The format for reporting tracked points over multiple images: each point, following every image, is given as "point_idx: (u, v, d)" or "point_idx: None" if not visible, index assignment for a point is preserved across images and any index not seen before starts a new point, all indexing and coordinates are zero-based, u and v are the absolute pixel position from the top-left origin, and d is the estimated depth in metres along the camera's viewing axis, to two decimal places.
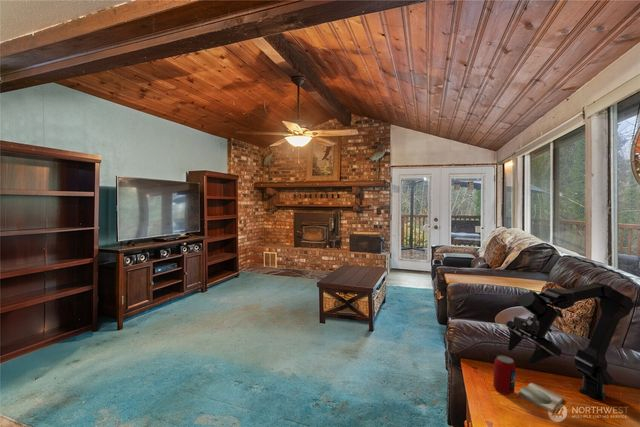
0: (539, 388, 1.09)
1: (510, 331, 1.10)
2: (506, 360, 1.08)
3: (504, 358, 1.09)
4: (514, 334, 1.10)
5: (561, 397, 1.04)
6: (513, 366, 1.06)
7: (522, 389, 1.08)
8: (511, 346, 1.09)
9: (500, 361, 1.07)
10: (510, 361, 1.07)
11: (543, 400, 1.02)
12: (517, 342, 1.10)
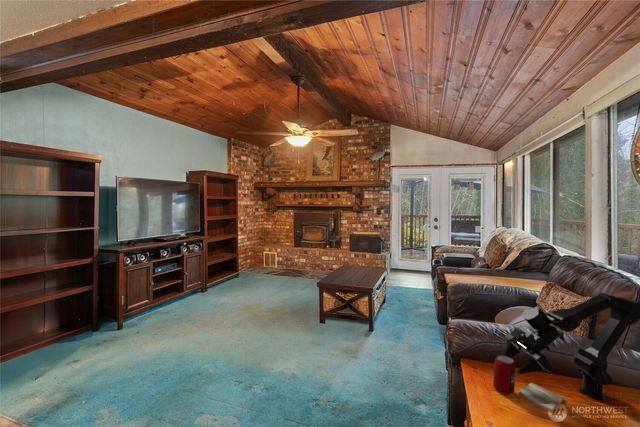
0: (539, 388, 1.09)
1: (508, 342, 1.14)
2: (506, 360, 1.08)
3: (504, 358, 1.09)
4: (511, 345, 1.13)
5: (561, 397, 1.04)
6: (513, 366, 1.06)
7: (522, 389, 1.08)
8: None
9: (500, 361, 1.07)
10: (510, 361, 1.07)
11: (543, 400, 1.02)
12: (512, 354, 1.13)
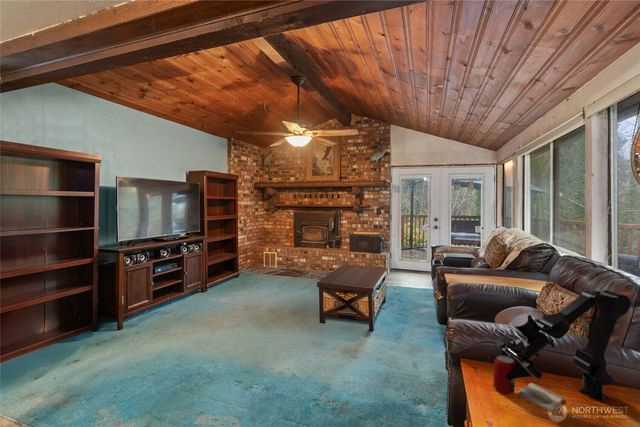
0: (539, 388, 1.09)
1: (500, 350, 1.13)
2: (506, 360, 1.08)
3: (504, 358, 1.09)
4: (504, 353, 1.13)
5: (561, 397, 1.04)
6: (513, 366, 1.06)
7: (522, 389, 1.08)
8: None
9: (500, 361, 1.07)
10: (510, 361, 1.07)
11: (543, 400, 1.02)
12: None
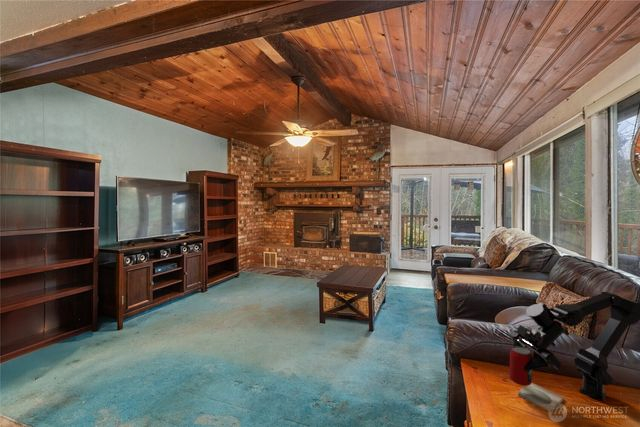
0: (539, 388, 1.09)
1: (515, 341, 1.11)
2: (522, 351, 1.06)
3: (520, 349, 1.07)
4: (518, 344, 1.10)
5: (561, 397, 1.04)
6: (530, 357, 1.04)
7: (522, 389, 1.08)
8: None
9: (517, 352, 1.05)
10: (527, 352, 1.05)
11: (543, 400, 1.02)
12: None
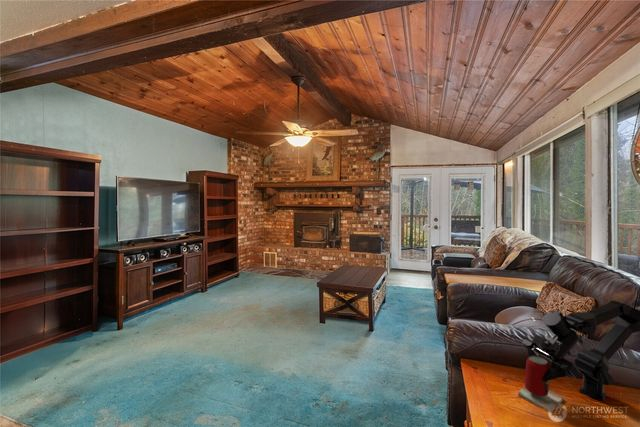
0: None
1: (529, 350, 1.10)
2: (539, 361, 1.04)
3: (536, 359, 1.05)
4: (533, 354, 1.09)
5: (561, 397, 1.04)
6: (548, 367, 1.02)
7: (522, 389, 1.08)
8: None
9: (534, 363, 1.03)
10: (544, 362, 1.03)
11: (543, 400, 1.02)
12: None
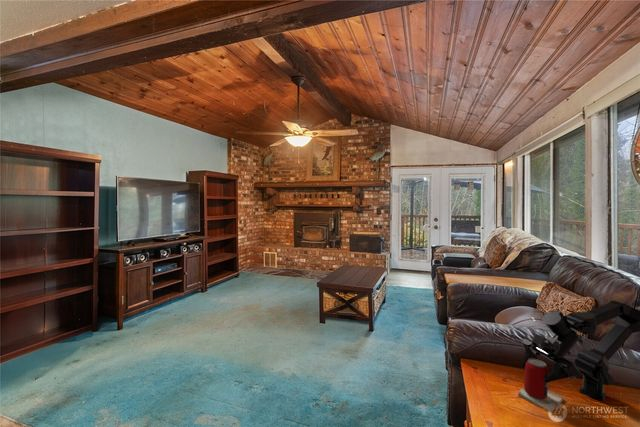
0: None
1: (526, 348, 1.11)
2: (538, 363, 1.04)
3: (535, 362, 1.05)
4: (530, 351, 1.10)
5: (561, 397, 1.04)
6: (547, 369, 1.02)
7: (522, 389, 1.08)
8: (525, 363, 1.09)
9: (533, 365, 1.03)
10: (543, 364, 1.04)
11: (543, 400, 1.02)
12: None
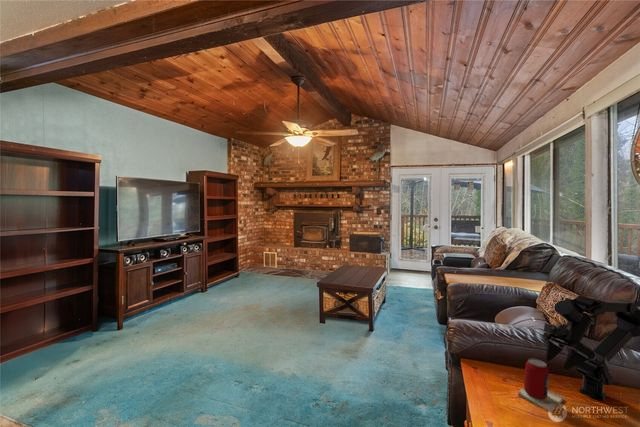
0: None
1: (546, 341, 1.11)
2: (539, 364, 1.04)
3: (535, 362, 1.05)
4: (551, 344, 1.10)
5: (561, 397, 1.04)
6: (547, 369, 1.02)
7: (522, 389, 1.08)
8: (549, 356, 1.09)
9: (534, 365, 1.03)
10: (543, 364, 1.04)
11: (543, 400, 1.02)
12: (555, 353, 1.09)
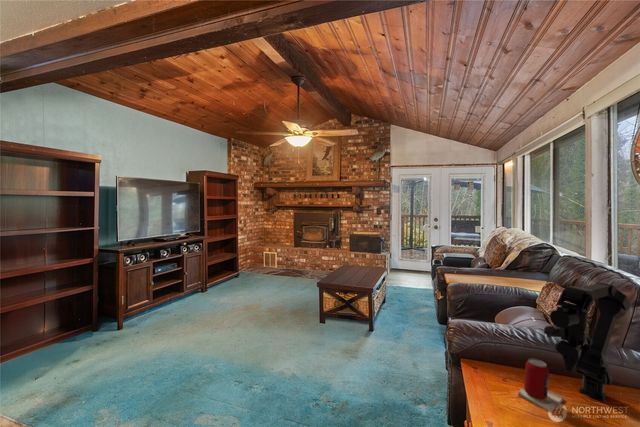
0: None
1: None
2: (539, 364, 1.04)
3: (535, 362, 1.05)
4: None
5: (561, 397, 1.04)
6: (547, 370, 1.02)
7: (522, 389, 1.08)
8: None
9: (534, 365, 1.03)
10: (543, 364, 1.04)
11: (543, 400, 1.02)
12: (581, 353, 1.04)
